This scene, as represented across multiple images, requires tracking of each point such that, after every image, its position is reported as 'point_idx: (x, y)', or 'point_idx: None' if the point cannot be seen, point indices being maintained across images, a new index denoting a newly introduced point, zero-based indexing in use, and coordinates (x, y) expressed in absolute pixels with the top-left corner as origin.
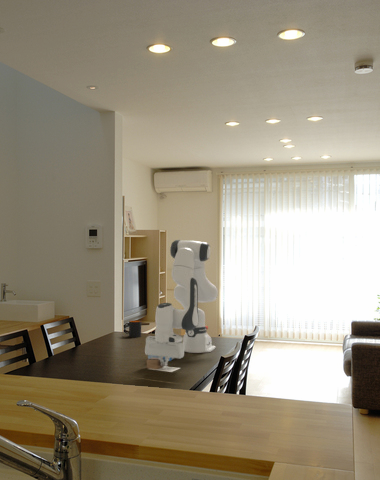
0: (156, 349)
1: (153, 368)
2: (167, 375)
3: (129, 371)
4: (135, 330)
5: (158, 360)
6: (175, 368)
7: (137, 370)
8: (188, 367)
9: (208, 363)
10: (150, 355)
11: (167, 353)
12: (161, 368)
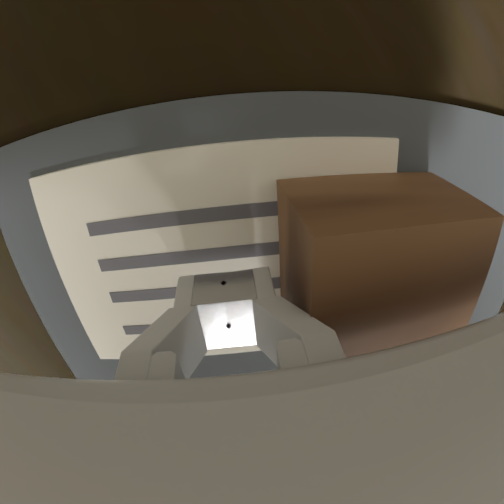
0: (464, 480)
1: (341, 176)
2: (9, 61)
3: (498, 13)
4: None
5: (310, 283)
6: (122, 330)
7: (471, 72)
8: None
9: None
10: None
11: (54, 448)
12: (254, 250)
